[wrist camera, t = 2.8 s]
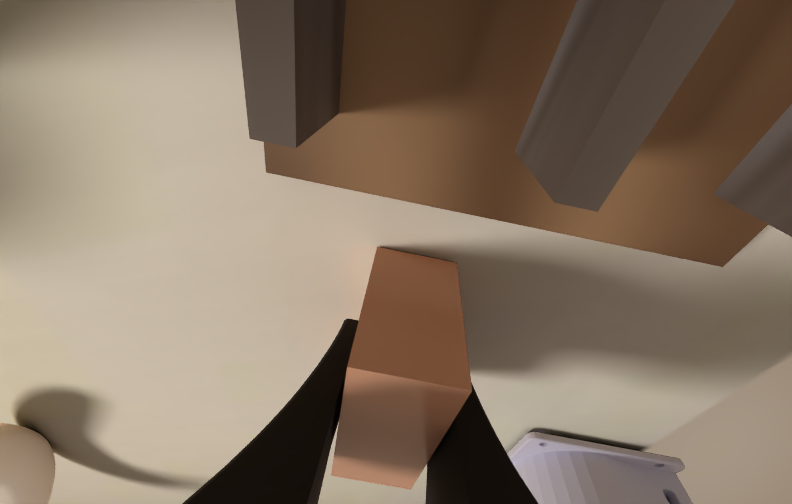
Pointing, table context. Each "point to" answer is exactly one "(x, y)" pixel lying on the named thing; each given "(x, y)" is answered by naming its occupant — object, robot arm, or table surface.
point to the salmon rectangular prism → (402, 370)
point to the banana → (25, 466)
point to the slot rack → (537, 111)
